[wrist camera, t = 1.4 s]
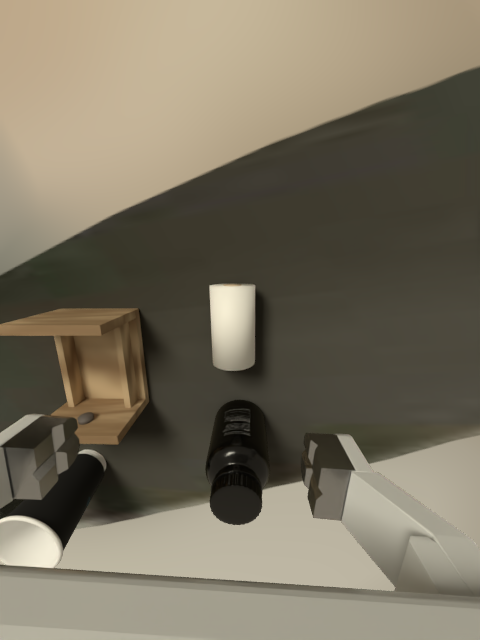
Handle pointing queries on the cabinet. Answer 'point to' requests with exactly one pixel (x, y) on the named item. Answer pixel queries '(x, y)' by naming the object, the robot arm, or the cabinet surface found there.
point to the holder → (95, 367)
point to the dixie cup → (51, 516)
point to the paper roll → (233, 325)
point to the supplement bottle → (237, 462)
